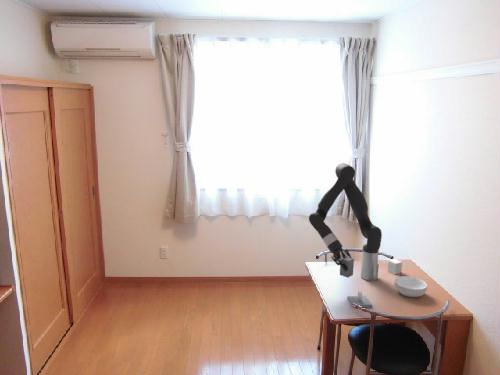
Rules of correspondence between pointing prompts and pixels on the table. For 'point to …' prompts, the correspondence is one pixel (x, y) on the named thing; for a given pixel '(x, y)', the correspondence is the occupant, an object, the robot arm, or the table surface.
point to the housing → (349, 263)
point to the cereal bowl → (410, 286)
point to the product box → (394, 266)
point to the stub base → (362, 303)
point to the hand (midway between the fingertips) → (349, 268)
